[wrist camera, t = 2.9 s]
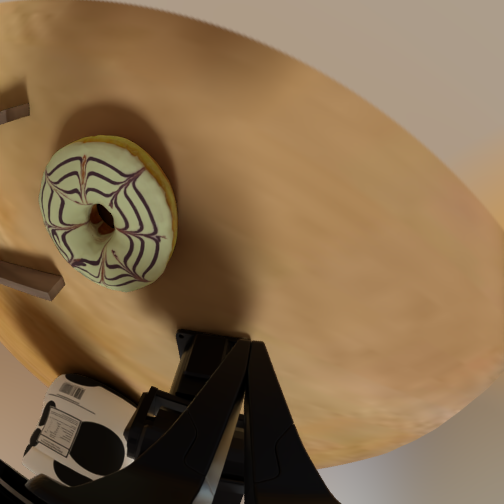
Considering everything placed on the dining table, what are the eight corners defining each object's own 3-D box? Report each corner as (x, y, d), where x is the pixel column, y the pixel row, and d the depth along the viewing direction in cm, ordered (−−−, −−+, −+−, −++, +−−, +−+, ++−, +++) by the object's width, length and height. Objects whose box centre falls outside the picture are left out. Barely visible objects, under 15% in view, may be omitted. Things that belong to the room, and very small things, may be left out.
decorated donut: (76, 258, 21) (52, 284, 18) (57, 134, 15) (21, 148, 12) (187, 279, 21) (170, 314, 18) (187, 130, 15) (161, 143, 12)
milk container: (125, 425, 42) (98, 502, 27) (49, 372, 36) (9, 452, 21) (180, 420, 35) (152, 526, 20) (81, 351, 29) (23, 468, 14)
